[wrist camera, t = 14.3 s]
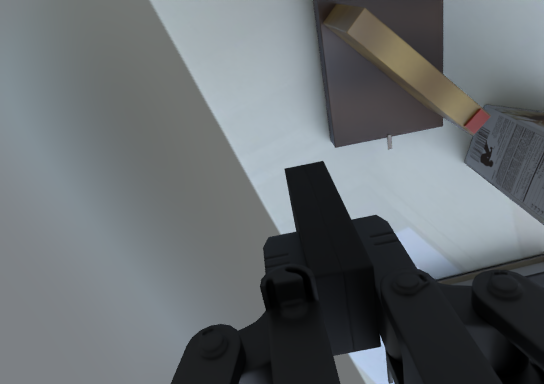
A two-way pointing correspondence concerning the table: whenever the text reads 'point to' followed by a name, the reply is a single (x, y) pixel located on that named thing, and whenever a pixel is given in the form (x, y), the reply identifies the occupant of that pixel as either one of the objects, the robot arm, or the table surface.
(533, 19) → the table surface
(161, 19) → the table surface
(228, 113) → the table surface
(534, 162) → the coffee box
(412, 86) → the tan flat piece
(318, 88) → the table surface
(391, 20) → the lock plate
